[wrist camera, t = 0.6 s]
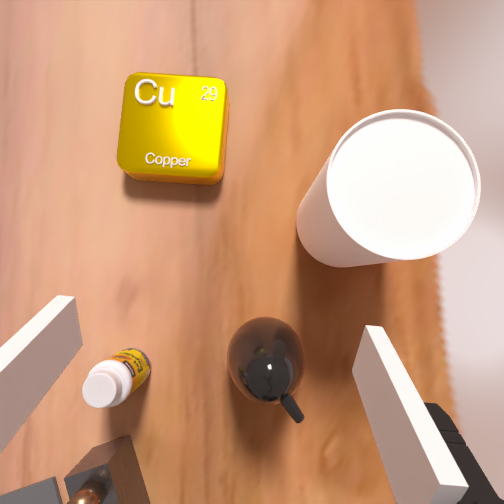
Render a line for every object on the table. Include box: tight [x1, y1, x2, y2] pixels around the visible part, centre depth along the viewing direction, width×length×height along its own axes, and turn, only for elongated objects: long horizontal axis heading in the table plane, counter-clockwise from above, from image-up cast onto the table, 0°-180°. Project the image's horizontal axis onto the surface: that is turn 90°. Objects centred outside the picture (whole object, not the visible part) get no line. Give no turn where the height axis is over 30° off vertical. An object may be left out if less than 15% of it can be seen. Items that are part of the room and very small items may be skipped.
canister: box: [296, 109, 481, 267], centre depth 38 cm, size 14×14×20 cm
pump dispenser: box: [227, 317, 305, 423], centre depth 39 cm, size 10×10×15 cm
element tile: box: [117, 72, 229, 185], centre depth 47 cm, size 15×15×5 cm
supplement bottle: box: [82, 348, 151, 408], centre depth 41 cm, size 6×6×10 cm
